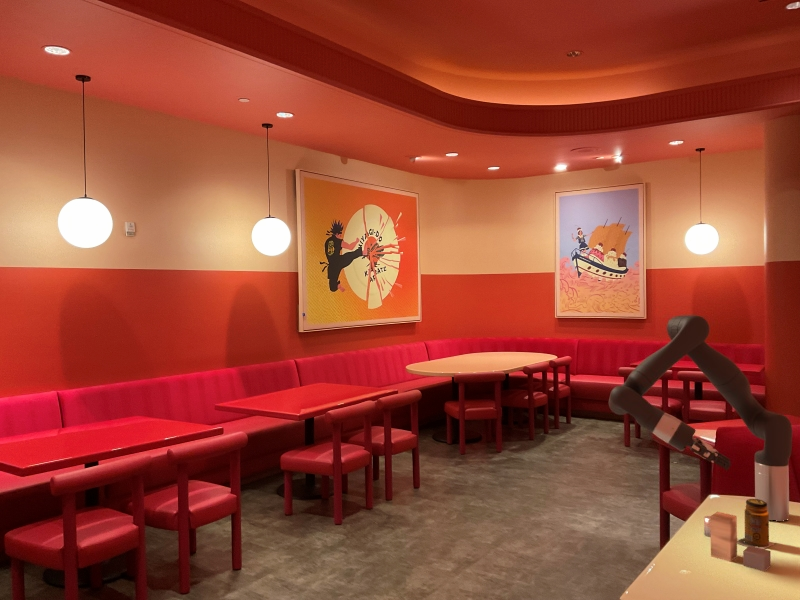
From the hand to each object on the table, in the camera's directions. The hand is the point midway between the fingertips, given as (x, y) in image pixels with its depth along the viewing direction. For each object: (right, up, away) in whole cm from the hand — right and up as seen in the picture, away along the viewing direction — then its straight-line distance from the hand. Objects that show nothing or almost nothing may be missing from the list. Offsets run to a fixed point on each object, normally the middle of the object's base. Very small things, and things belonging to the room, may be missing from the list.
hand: (729, 465), depth 175 cm
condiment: (+10, -24, +5) cm, 27 cm away
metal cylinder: (+1, -24, +12) cm, 27 cm away
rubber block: (+3, -24, -9) cm, 26 cm away
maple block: (-3, -24, -3) cm, 24 cm away
